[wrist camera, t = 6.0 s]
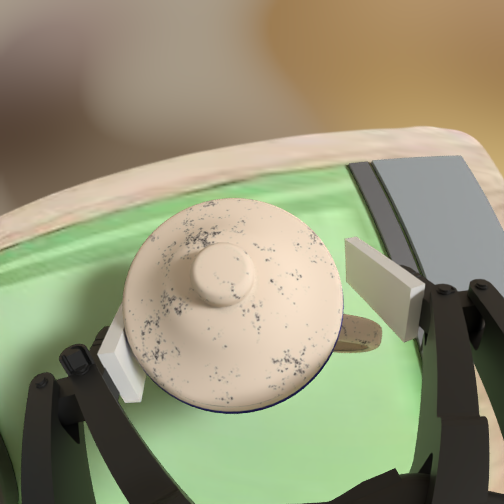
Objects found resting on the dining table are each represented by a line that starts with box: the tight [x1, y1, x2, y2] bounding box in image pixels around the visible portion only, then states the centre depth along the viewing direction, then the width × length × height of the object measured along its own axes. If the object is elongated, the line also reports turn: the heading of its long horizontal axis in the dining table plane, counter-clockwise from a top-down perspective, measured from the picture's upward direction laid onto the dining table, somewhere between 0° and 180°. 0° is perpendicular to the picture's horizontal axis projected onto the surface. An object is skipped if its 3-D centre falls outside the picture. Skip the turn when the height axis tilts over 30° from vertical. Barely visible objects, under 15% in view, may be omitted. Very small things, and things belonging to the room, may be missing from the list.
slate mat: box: [371, 156, 504, 363], centre depth 21 cm, size 13×20×1 cm, turn 12°
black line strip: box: [348, 162, 424, 362], centre depth 21 cm, size 2×21×1 cm, turn 12°
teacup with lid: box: [122, 198, 382, 414], centre depth 14 cm, size 12×9×12 cm
